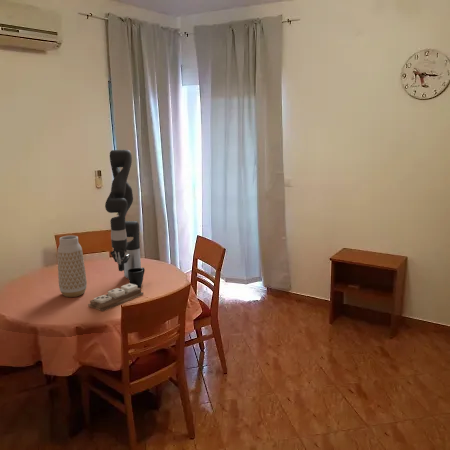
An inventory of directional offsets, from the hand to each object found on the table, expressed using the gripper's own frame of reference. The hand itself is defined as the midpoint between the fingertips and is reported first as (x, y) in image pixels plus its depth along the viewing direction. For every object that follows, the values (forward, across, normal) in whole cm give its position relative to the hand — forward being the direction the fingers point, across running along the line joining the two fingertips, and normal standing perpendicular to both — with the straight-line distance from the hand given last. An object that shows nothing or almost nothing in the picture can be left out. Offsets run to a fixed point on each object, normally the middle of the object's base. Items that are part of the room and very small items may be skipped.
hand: (121, 270), depth 214 cm
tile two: (+11, +1, -5) cm, 13 cm away
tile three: (+12, +1, -14) cm, 18 cm away
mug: (+15, -6, +16) cm, 22 cm away
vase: (+14, -25, -13) cm, 31 cm away
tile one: (+12, +1, +3) cm, 12 cm away
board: (+14, +1, -5) cm, 15 cm away
